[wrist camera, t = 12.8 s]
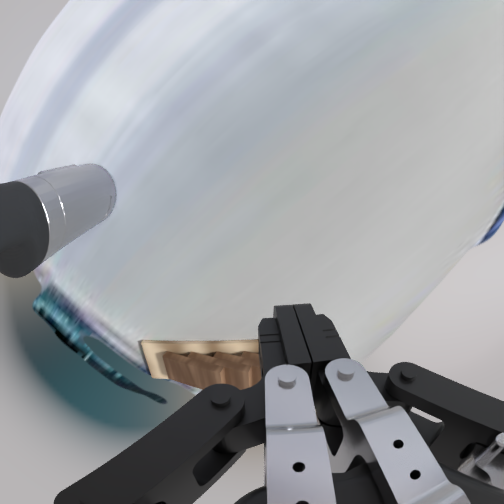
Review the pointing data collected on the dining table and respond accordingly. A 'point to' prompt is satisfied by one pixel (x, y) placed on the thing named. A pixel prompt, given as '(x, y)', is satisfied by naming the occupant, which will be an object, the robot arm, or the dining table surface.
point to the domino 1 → (193, 371)
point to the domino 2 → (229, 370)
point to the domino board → (184, 348)
